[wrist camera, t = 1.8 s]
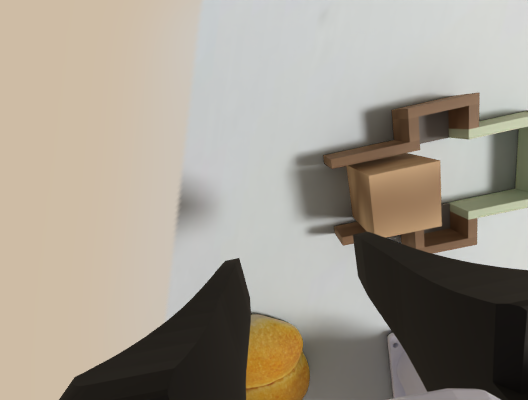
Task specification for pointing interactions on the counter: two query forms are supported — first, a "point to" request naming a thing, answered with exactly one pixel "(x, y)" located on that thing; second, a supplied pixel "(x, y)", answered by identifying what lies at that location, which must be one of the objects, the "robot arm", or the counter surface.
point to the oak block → (396, 194)
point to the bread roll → (275, 361)
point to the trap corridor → (434, 128)
